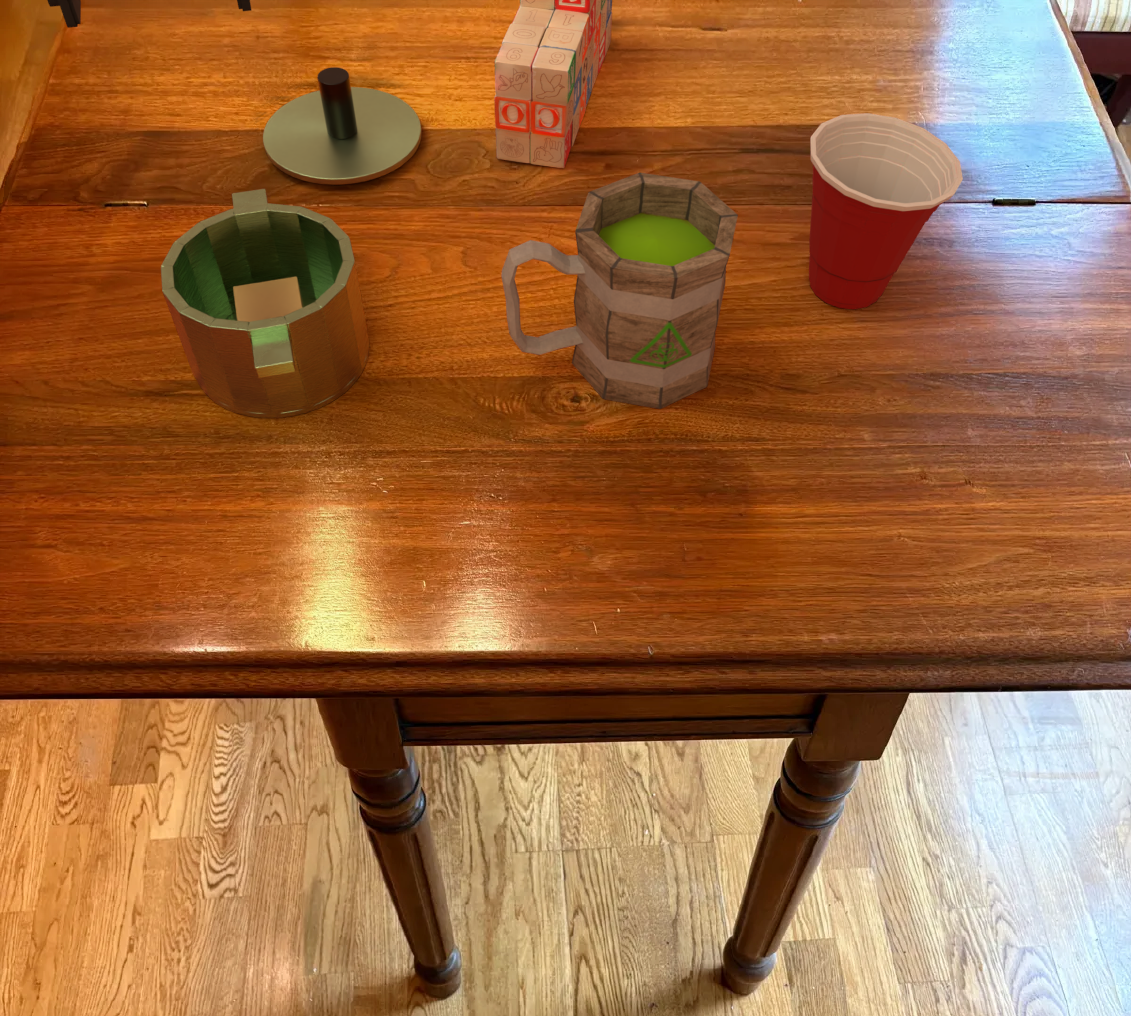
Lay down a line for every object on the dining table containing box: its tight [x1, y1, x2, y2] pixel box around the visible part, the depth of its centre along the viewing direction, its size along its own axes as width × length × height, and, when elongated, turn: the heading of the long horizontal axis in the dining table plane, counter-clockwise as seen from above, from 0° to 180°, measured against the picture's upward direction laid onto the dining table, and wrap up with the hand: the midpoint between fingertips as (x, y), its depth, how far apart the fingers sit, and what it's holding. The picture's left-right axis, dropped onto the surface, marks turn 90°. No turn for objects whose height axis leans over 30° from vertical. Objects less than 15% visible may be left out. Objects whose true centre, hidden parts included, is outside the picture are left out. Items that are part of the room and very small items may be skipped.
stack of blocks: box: [493, 0, 613, 169], centre depth 94 cm, size 21×6×12 cm, turn 168°
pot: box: [160, 188, 371, 419], centre depth 75 cm, size 13×18×8 cm
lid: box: [262, 66, 423, 186], centre depth 92 cm, size 14×14×6 cm
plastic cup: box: [808, 112, 964, 310], centre depth 80 cm, size 11×11×12 cm
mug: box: [501, 172, 739, 410], centre depth 74 cm, size 16×11×12 cm
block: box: [233, 277, 304, 322], centre depth 77 cm, size 4×4×4 cm
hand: (160, 7), depth 63 cm, fingers open, 9 cm apart
